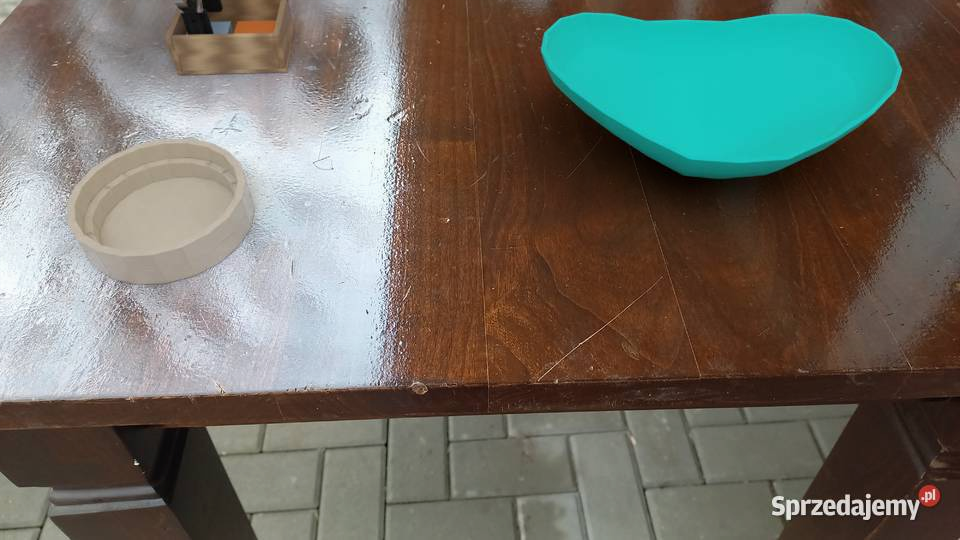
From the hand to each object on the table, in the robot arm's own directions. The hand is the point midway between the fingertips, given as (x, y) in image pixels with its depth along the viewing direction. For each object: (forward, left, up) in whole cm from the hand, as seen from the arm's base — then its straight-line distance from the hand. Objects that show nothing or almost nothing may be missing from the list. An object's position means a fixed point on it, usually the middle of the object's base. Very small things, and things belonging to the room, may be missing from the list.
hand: (206, 23), depth 94 cm
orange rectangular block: (+6, 0, -4) cm, 8 cm away
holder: (+3, 0, -5) cm, 6 cm away
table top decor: (+62, -23, -5) cm, 66 cm away
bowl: (+1, -34, -5) cm, 34 cm away
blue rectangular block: (0, 0, -4) cm, 4 cm away
